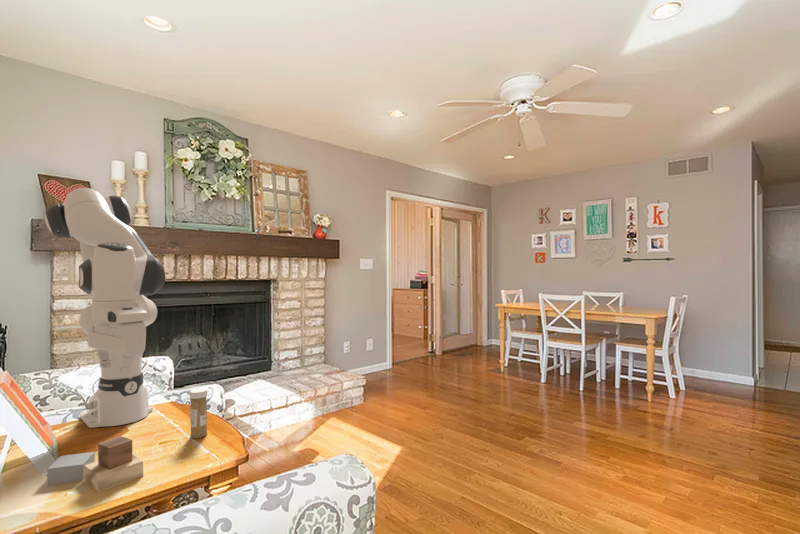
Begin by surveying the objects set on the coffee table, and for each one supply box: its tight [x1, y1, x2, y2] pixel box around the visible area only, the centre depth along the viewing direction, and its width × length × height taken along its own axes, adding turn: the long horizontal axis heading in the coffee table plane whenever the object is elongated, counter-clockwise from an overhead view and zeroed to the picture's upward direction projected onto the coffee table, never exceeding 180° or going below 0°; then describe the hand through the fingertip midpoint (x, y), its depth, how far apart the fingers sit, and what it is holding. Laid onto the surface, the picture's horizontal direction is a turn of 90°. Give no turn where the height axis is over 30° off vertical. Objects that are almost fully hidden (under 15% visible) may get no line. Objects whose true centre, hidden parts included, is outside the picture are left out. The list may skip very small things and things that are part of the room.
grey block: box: [46, 451, 96, 486], centre depth 102 cm, size 7×7×4 cm
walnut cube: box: [97, 435, 133, 470], centre depth 101 cm, size 5×5×5 cm
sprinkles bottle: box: [189, 388, 208, 439], centre depth 126 cm, size 5×5×14 cm
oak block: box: [84, 454, 144, 493], centre depth 101 cm, size 9×9×4 cm
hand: (114, 370), depth 101 cm, fingers open, 8 cm apart
